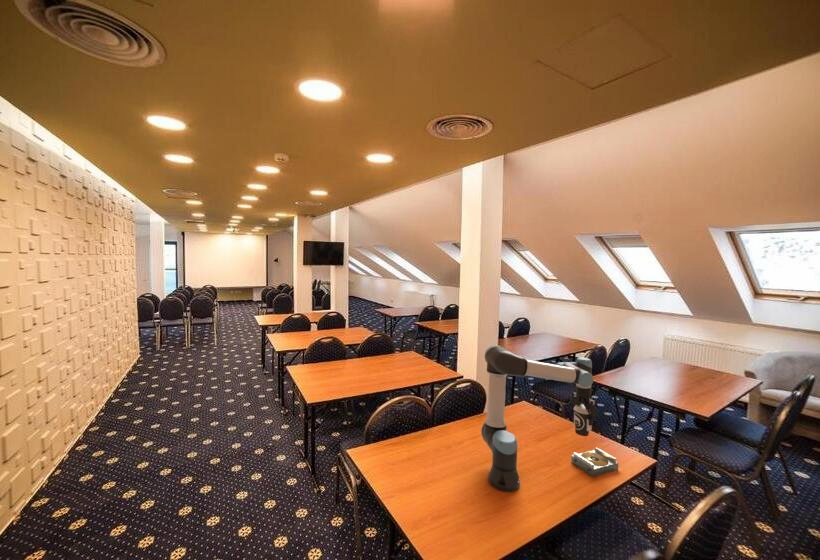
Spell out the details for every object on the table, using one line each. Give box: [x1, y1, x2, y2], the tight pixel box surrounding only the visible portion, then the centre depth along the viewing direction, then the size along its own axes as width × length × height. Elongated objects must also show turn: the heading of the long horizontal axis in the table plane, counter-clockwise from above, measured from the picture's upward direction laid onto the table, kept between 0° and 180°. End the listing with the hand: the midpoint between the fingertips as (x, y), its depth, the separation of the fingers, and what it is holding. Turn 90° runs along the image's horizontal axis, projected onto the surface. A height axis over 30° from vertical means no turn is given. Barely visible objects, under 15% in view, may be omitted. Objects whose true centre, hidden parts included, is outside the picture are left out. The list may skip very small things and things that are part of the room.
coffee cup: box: [574, 403, 591, 437], centre depth 189 cm, size 10×10×15 cm
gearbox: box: [570, 447, 619, 478], centre depth 185 cm, size 19×14×6 cm
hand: (582, 427), depth 189 cm, fingers closed on coffee cup, 8 cm apart
